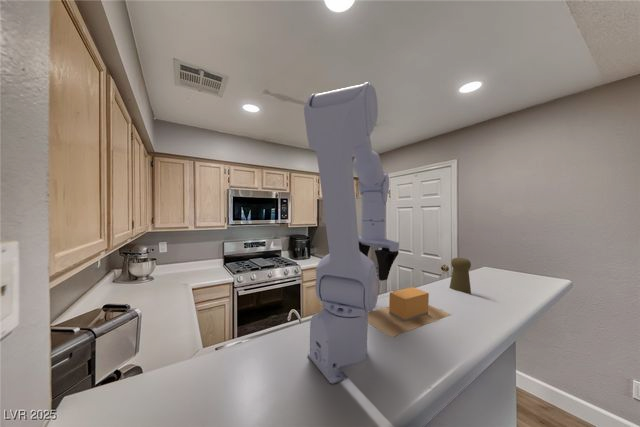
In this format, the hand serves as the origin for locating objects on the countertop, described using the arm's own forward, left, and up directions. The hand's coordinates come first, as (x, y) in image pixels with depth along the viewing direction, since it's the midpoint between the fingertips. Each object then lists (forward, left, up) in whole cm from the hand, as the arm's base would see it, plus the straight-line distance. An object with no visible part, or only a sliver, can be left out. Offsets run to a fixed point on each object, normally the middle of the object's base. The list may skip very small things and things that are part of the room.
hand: (372, 275), depth 57 cm
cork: (+34, -3, -10) cm, 35 cm away
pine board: (+4, -7, -9) cm, 12 cm away
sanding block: (+5, -7, -8) cm, 12 cm away
